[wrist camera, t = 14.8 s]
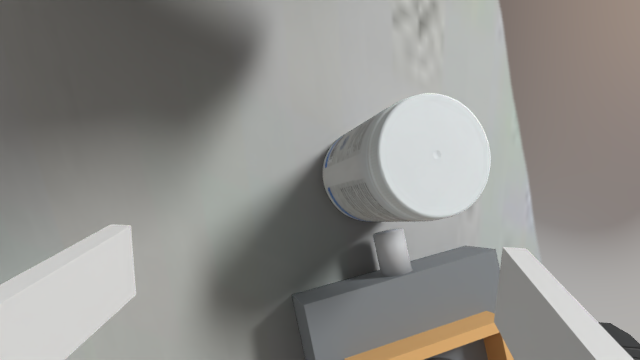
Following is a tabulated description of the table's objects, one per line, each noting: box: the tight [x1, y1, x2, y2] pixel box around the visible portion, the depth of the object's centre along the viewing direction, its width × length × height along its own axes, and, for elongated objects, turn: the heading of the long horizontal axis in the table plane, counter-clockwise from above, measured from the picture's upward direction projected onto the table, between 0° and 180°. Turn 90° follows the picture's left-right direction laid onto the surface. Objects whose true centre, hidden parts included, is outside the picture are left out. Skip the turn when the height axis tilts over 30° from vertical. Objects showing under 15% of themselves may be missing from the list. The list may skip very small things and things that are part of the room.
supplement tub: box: [323, 93, 491, 222], centre depth 38 cm, size 10×10×15 cm
